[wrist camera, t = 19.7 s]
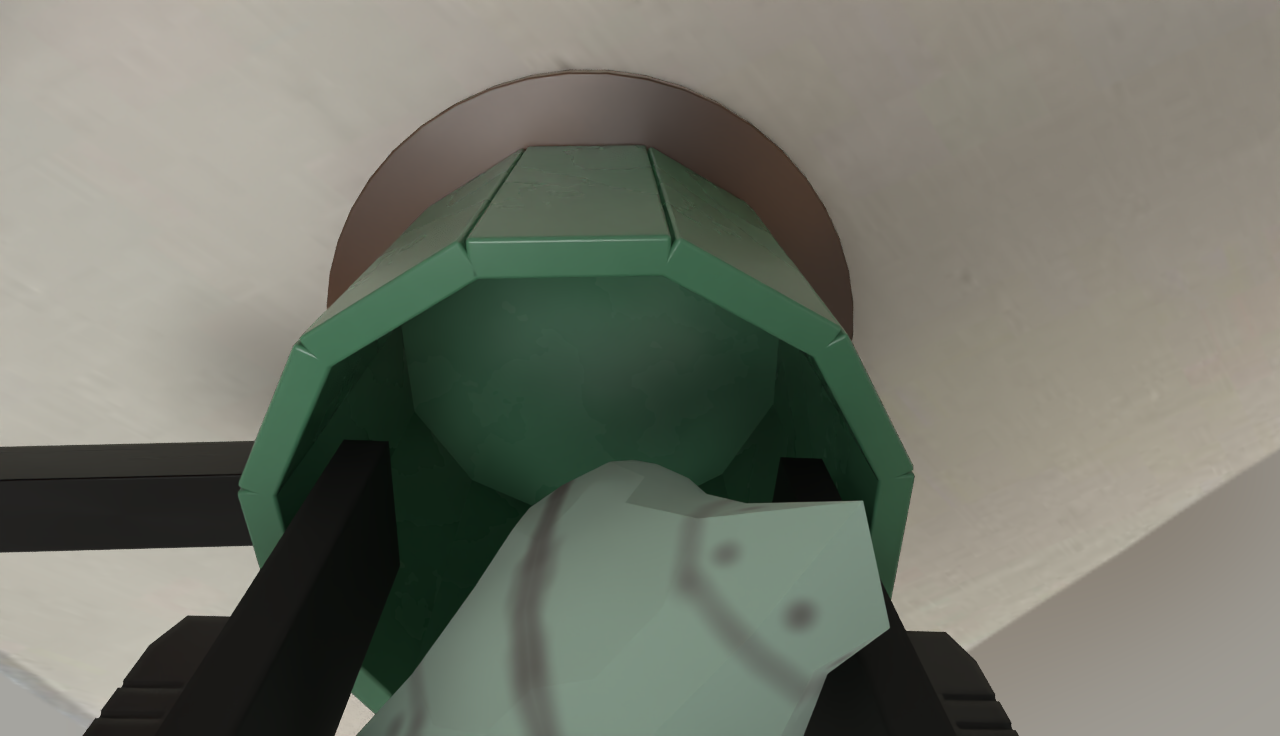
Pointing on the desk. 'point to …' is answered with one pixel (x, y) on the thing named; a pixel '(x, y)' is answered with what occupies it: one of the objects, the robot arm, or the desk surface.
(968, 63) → the desk surface
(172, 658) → the robot arm
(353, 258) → the disc
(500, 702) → the robot head
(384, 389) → the pot
